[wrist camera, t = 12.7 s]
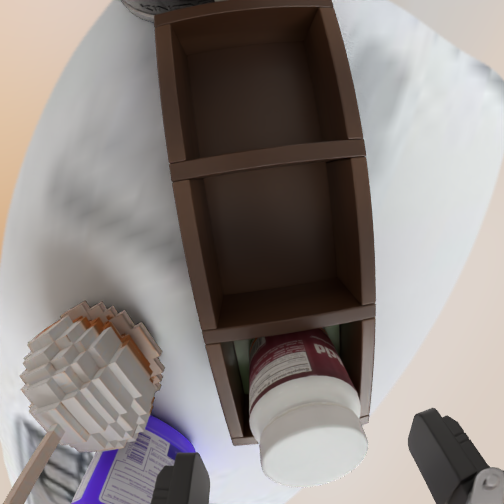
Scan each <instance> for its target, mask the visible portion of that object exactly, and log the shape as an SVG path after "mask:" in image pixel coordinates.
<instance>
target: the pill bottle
mask: <svg viewBox="0 0 504 504" xmlns="http://www.w3.org/2000/svg"><path fill="white" fill-rule="evenodd" d="M360 412H361V405H360V400H359V397H358V394H357V391H356V389H355V387H354V385H353V383H352V381H351V379H350V378H349V376H348V373H347V371H346V369H345V367H344V365H343V363H342V361H341V359H340V357H339V355H338V353H337V351H336V349H335V347H334V345H333V343H332V342H331V340H330V338H329V336H328V334H327V332H326V331H325V329H324V328H317V329H311V330H306V331H300V332H293V333H287V334H281V335H274V336H267V337H260V338H253V340H252V343H251V346H250V351H249V424H250V429H251V431H252V434H253V436H254V438H255V439H256V441H257V442H258V443H259V444H260V445H259V446H260V458H261V466H262V470H263V472H264V473H265V475H266V476H267V477H268V478H269V479H271V480H272V481H274V482H276V483H278V484H281V485H284V486H289V487H313V486H318V485H323V484H326V483H329V482H332V481H335V480H337V479H339V478H341V477H343V476H345V475H346V474H348V473H350V472H351V471H352V470H354V469H355V468H356V467H357V466H358V465H359V464H360V463H361V461H362V460H363V459H364V457H365V455H366V453H367V450H368V441H367V438H366V435H365V432H364V430H363V428H362V424H361V421H360V420H359V418H360Z"/></svg>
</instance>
